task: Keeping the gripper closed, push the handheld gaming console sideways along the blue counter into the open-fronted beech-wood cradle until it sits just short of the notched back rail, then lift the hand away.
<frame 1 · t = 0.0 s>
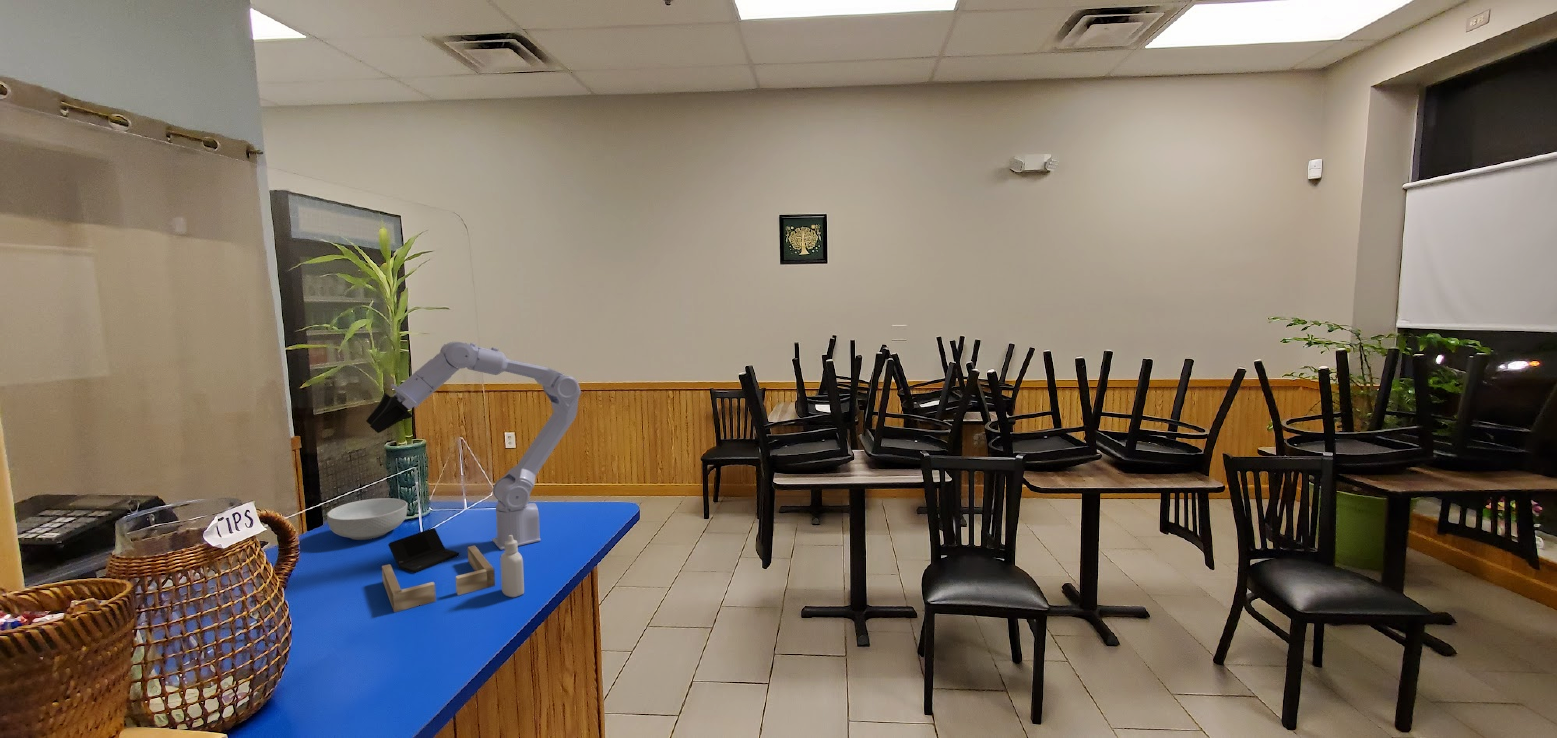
hand: (371, 427, 130), 32 cm above the counter, tool tilted 50°, fingers open, 7 cm apart
eye dropper bottle: (512, 593, 124), on the counter
cereal bowl: (370, 535, 155), on the counter
cradle: (438, 583, 128), on the counter
handheld gaming console: (425, 562, 140), on the counter
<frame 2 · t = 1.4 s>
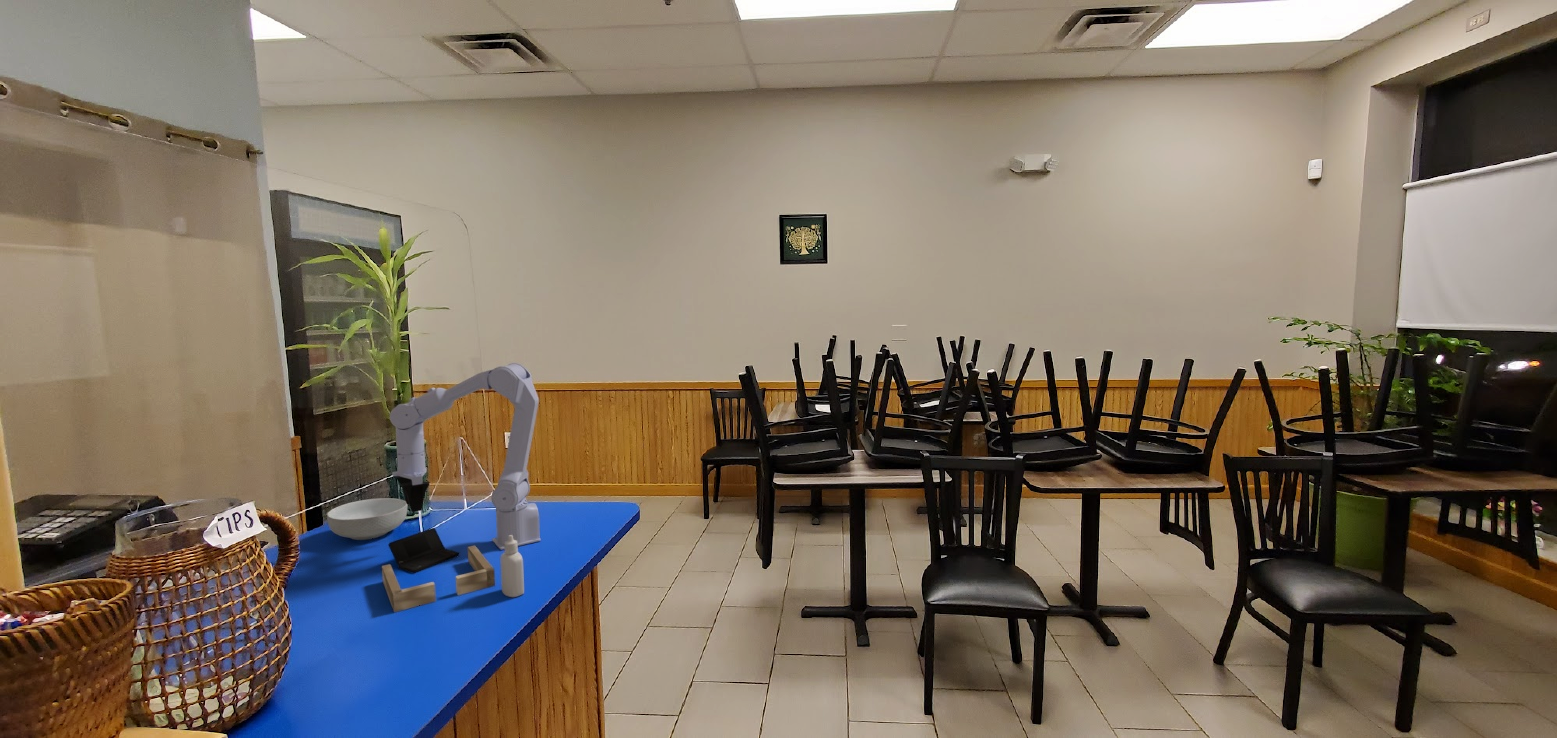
hand: (414, 507, 148), 9 cm above the counter, tool pointing down, fingers open, 6 cm apart
nothing on the counter moved.
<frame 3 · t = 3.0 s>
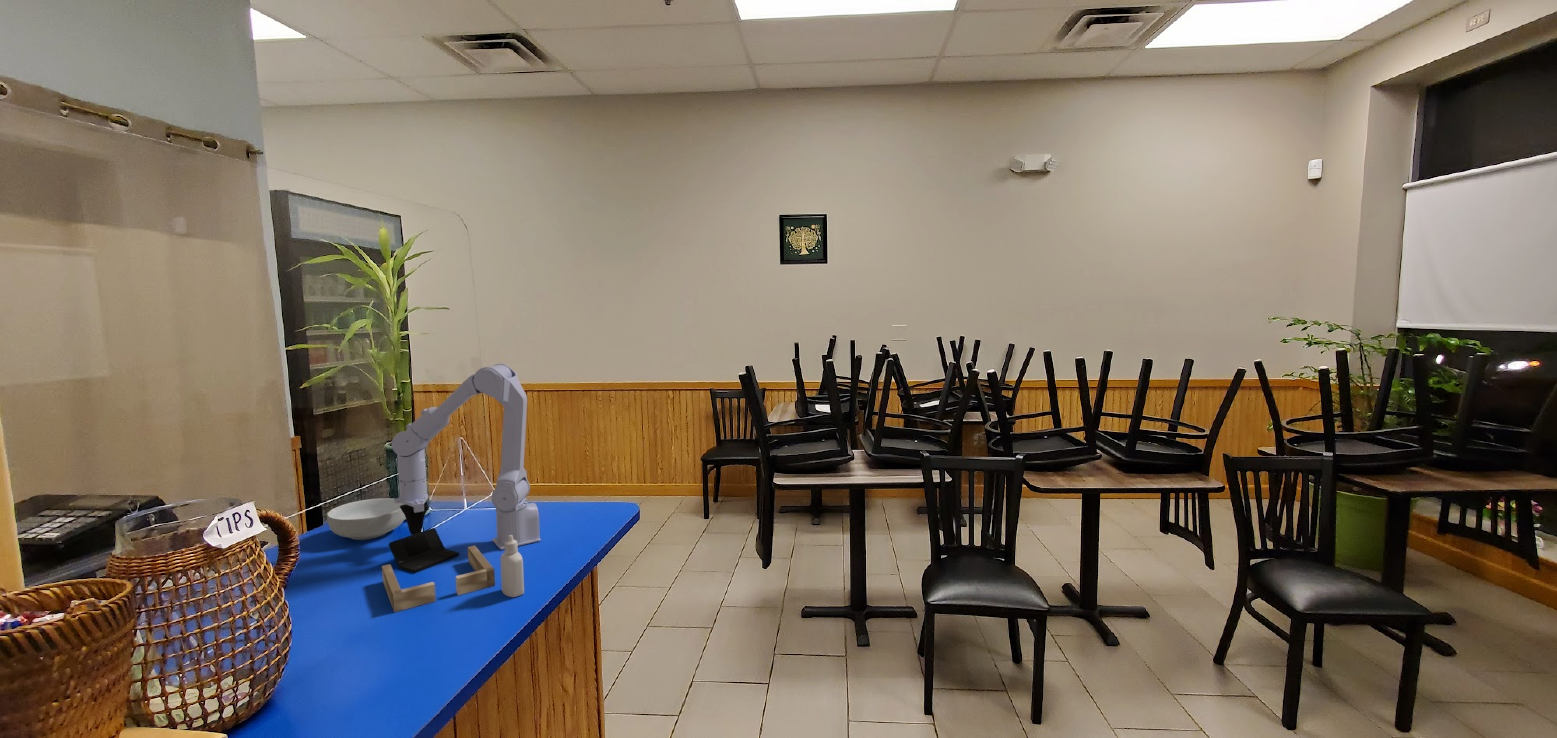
hand: (415, 533, 148), 3 cm above the counter, tool pointing down, fingers closed
nothing on the counter moved.
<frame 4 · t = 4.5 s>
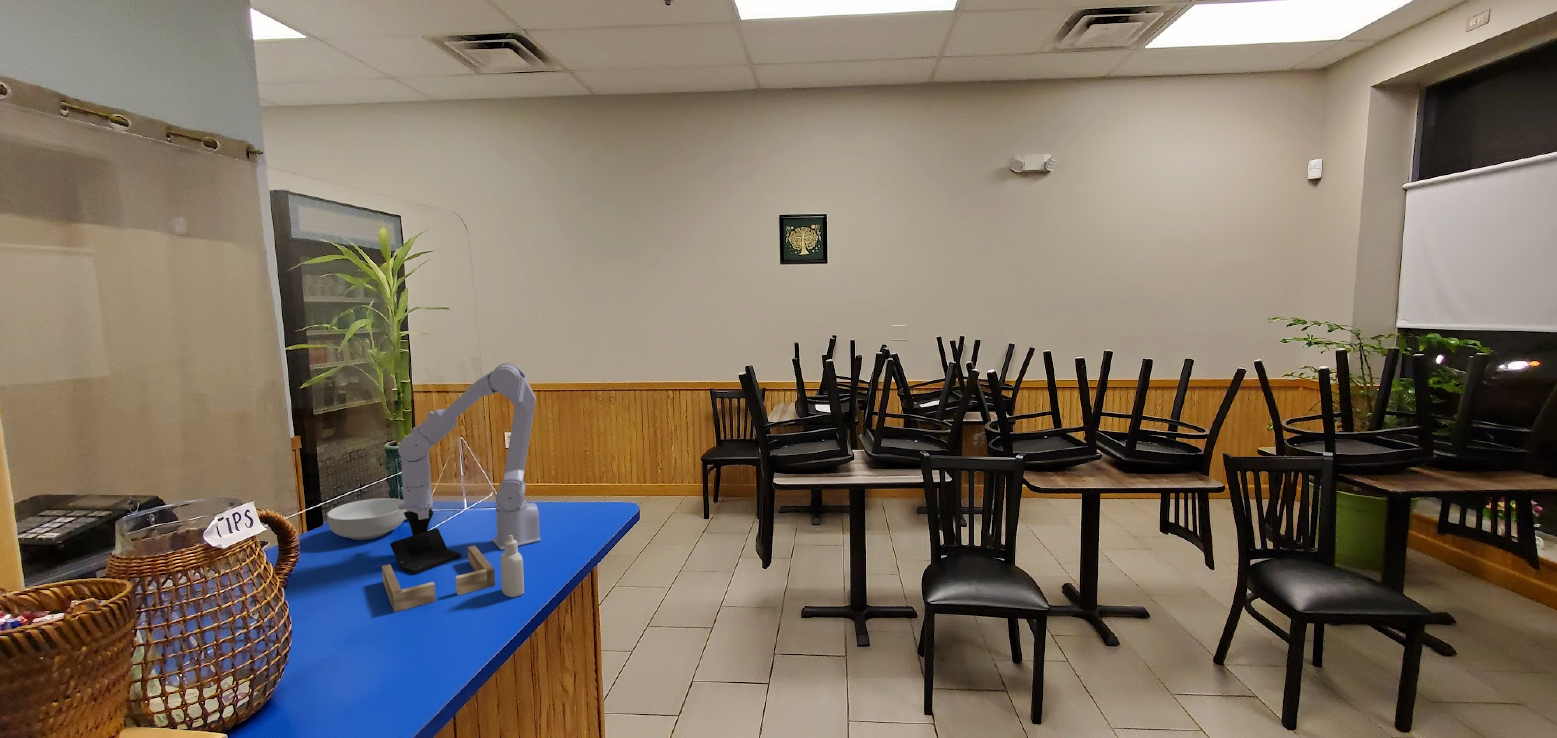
hand: (420, 540, 144), 3 cm above the counter, tool pointing down, fingers closed
handheld gaming console: (427, 562, 139), on the counter, touching gripper
everything else where it was.
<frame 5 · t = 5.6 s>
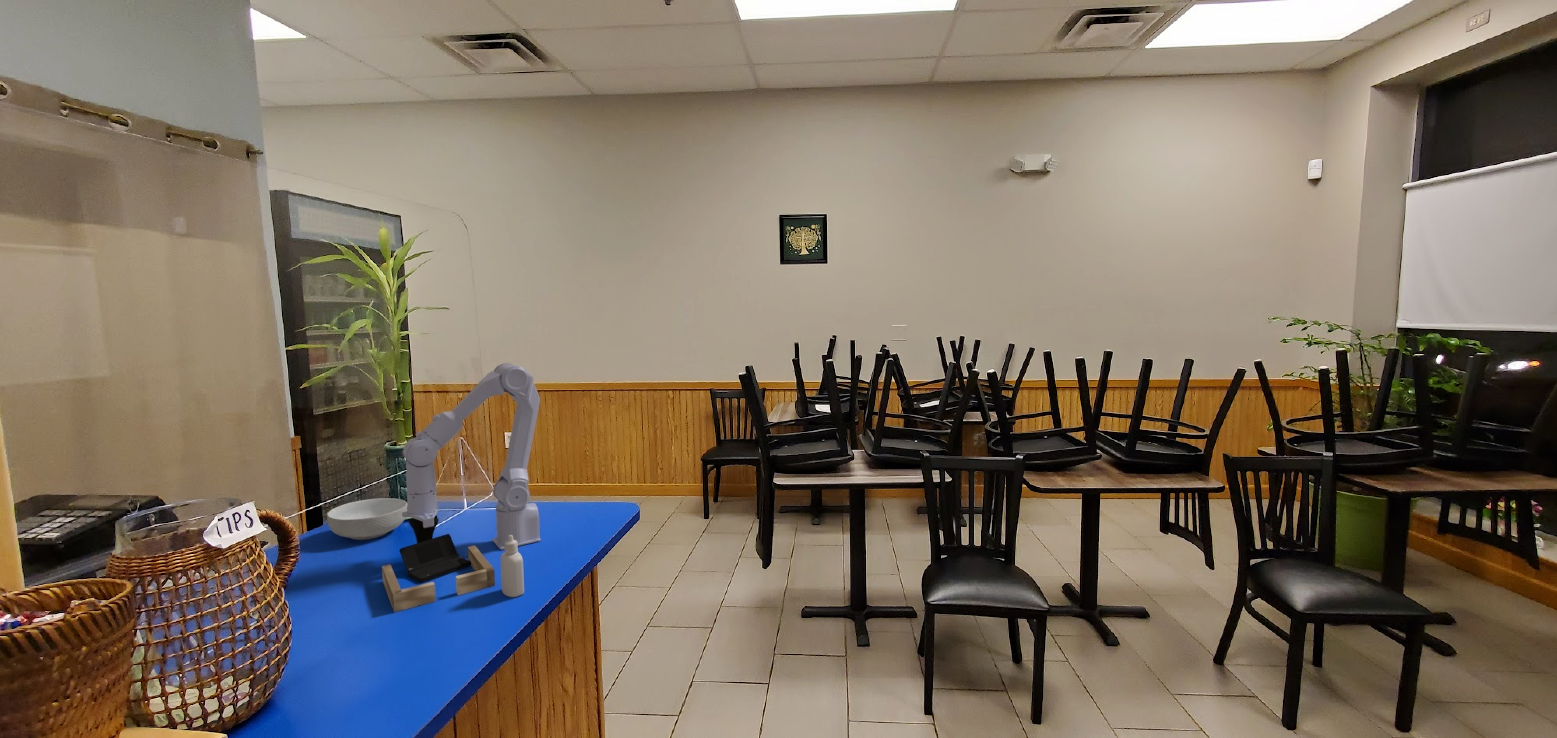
hand: (424, 549, 139), 3 cm above the counter, tool pointing down, fingers closed
handheld gaming console: (436, 569, 135), on the counter, touching gripper
everything else where it was.
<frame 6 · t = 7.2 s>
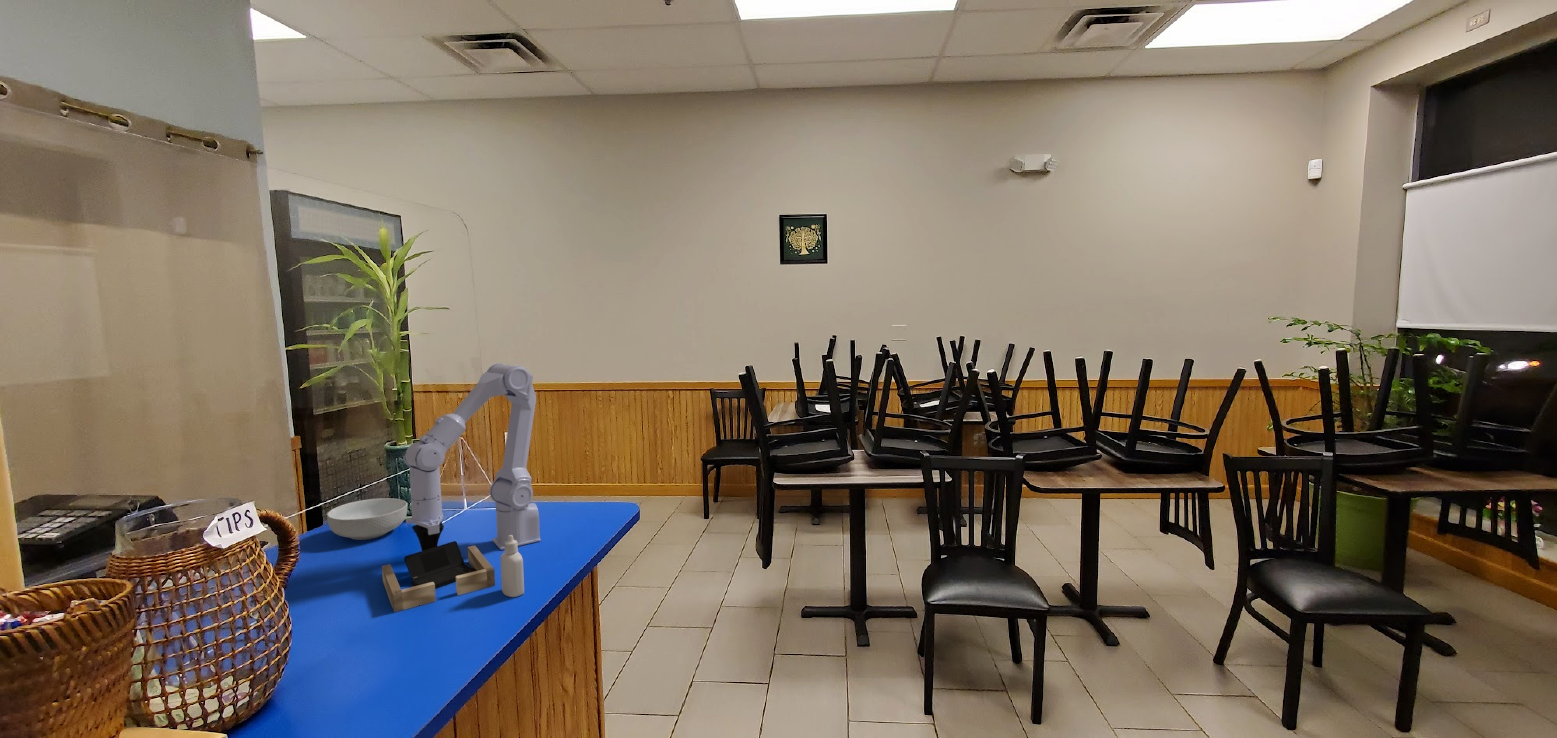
hand: (429, 556, 135), 3 cm above the counter, tool pointing down, fingers closed
handheld gaming console: (441, 578, 131), on the counter, touching gripper
everything else where it was.
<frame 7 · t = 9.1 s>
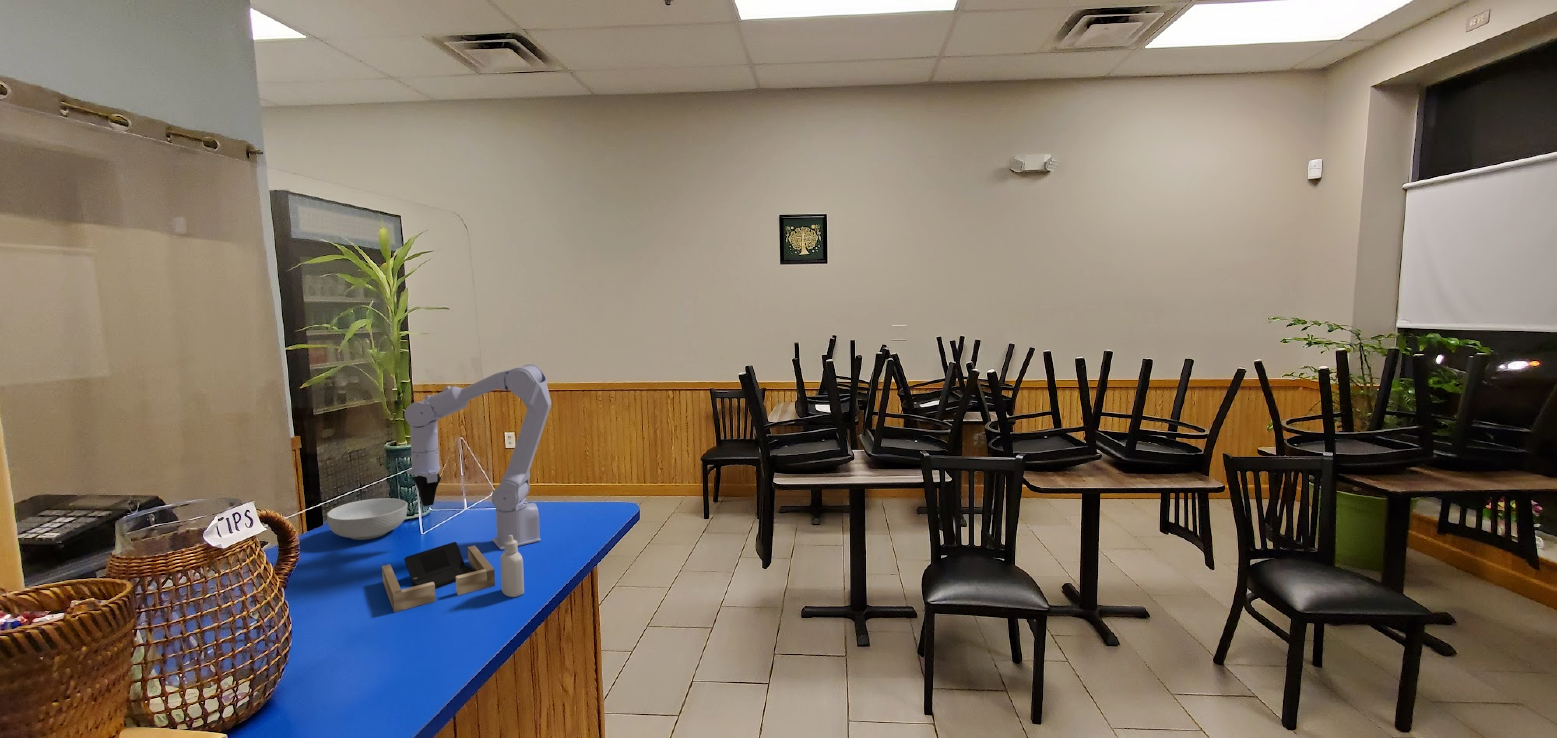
hand: (427, 505, 148), 10 cm above the counter, tool pointing down, fingers closed
handheld gaming console: (442, 579, 131), on the counter
everything else where it was.
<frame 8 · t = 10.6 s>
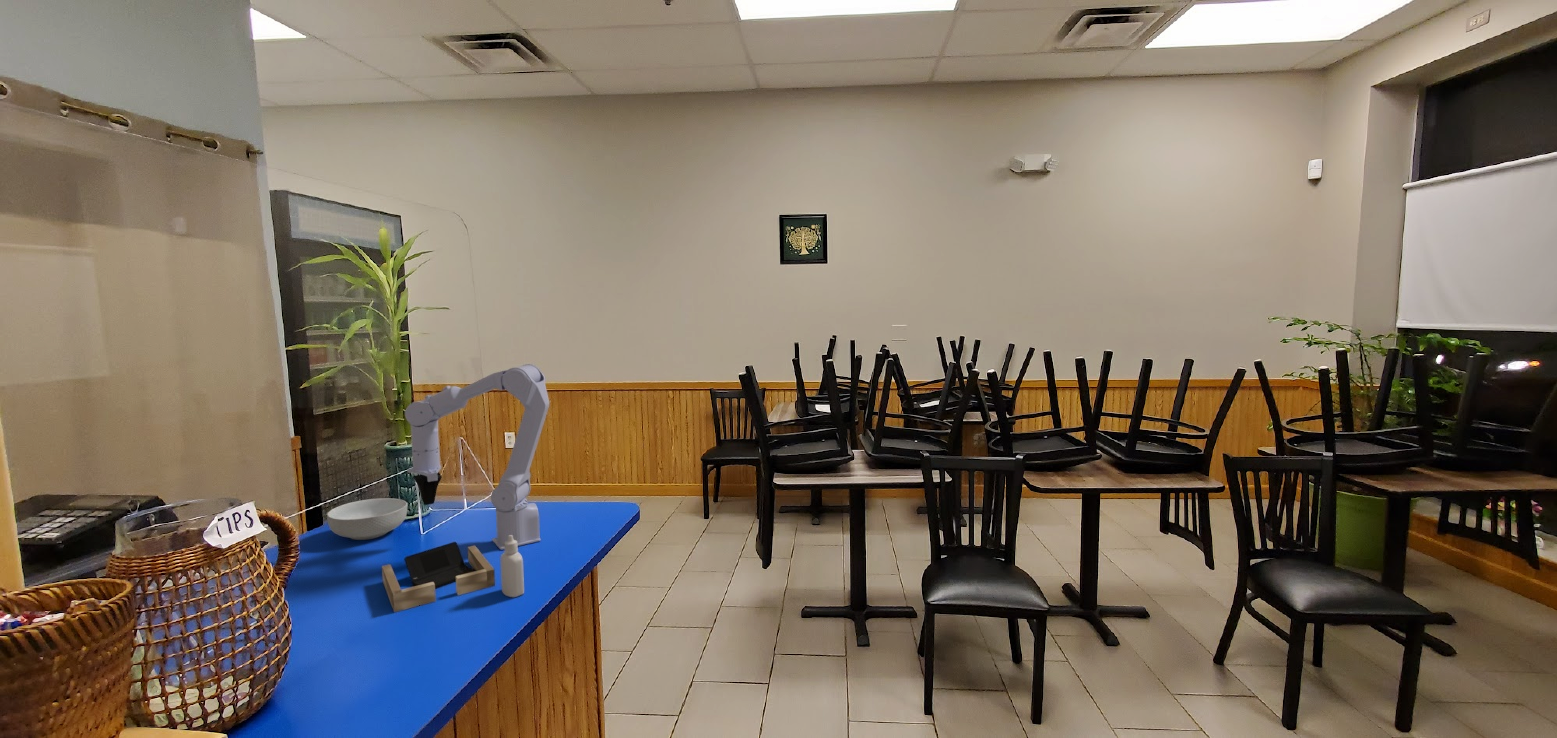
hand: (428, 503, 149), 10 cm above the counter, tool pointing down, fingers closed
nothing on the counter moved.
at the end: handheld gaming console inside the target area (2.4 cm from its centre), on the counter; handheld gaming console tilted 0°; handheld gaming console moved 12.2 cm from its start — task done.
